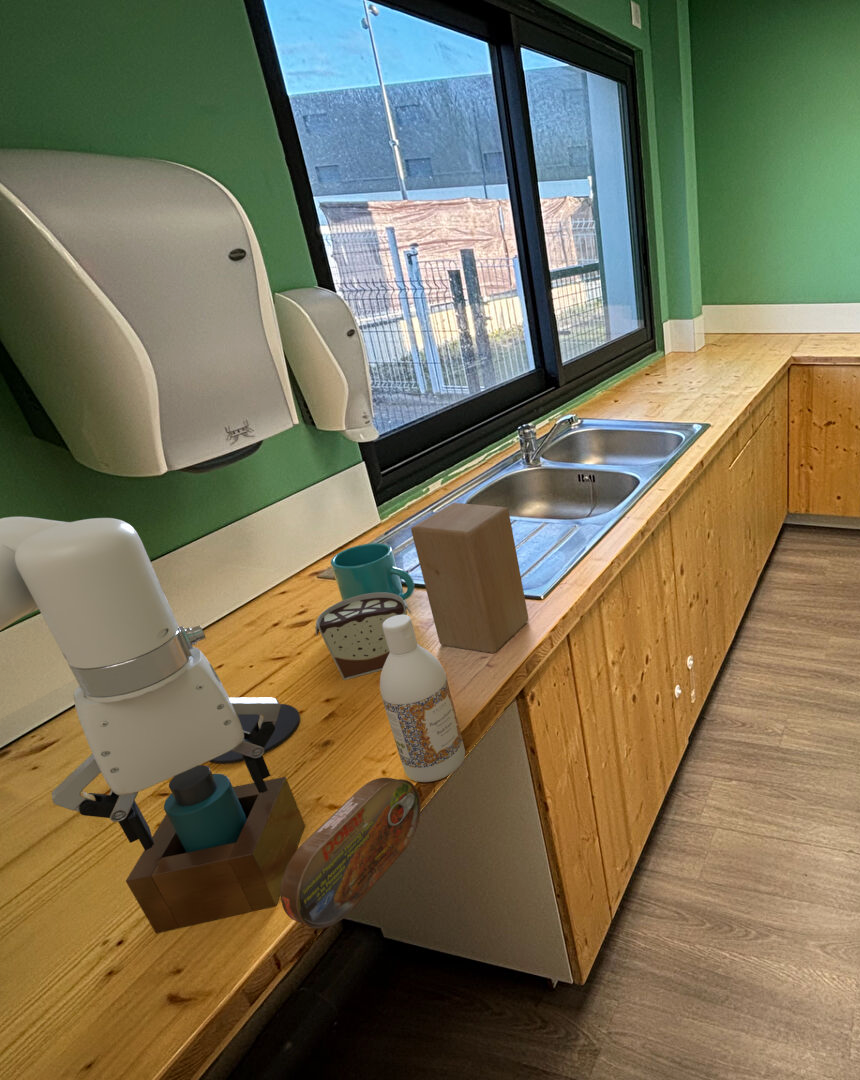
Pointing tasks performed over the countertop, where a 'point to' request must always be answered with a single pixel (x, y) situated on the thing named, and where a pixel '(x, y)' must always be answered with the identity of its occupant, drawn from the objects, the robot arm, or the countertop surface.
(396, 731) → the bath foam
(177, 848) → the holder
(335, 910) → the tin
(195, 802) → the bottle
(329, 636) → the food container
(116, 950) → the countertop surface
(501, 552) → the wooden block
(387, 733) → the countertop surface
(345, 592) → the cup
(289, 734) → the coaster
